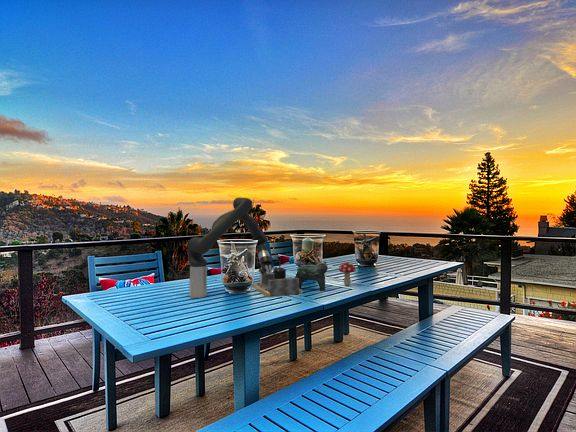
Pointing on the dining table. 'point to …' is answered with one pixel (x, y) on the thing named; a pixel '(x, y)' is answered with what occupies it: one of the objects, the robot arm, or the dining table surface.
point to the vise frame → (279, 287)
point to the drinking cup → (279, 272)
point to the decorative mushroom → (347, 272)
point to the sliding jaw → (266, 279)
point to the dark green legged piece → (312, 273)
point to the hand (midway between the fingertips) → (271, 280)
